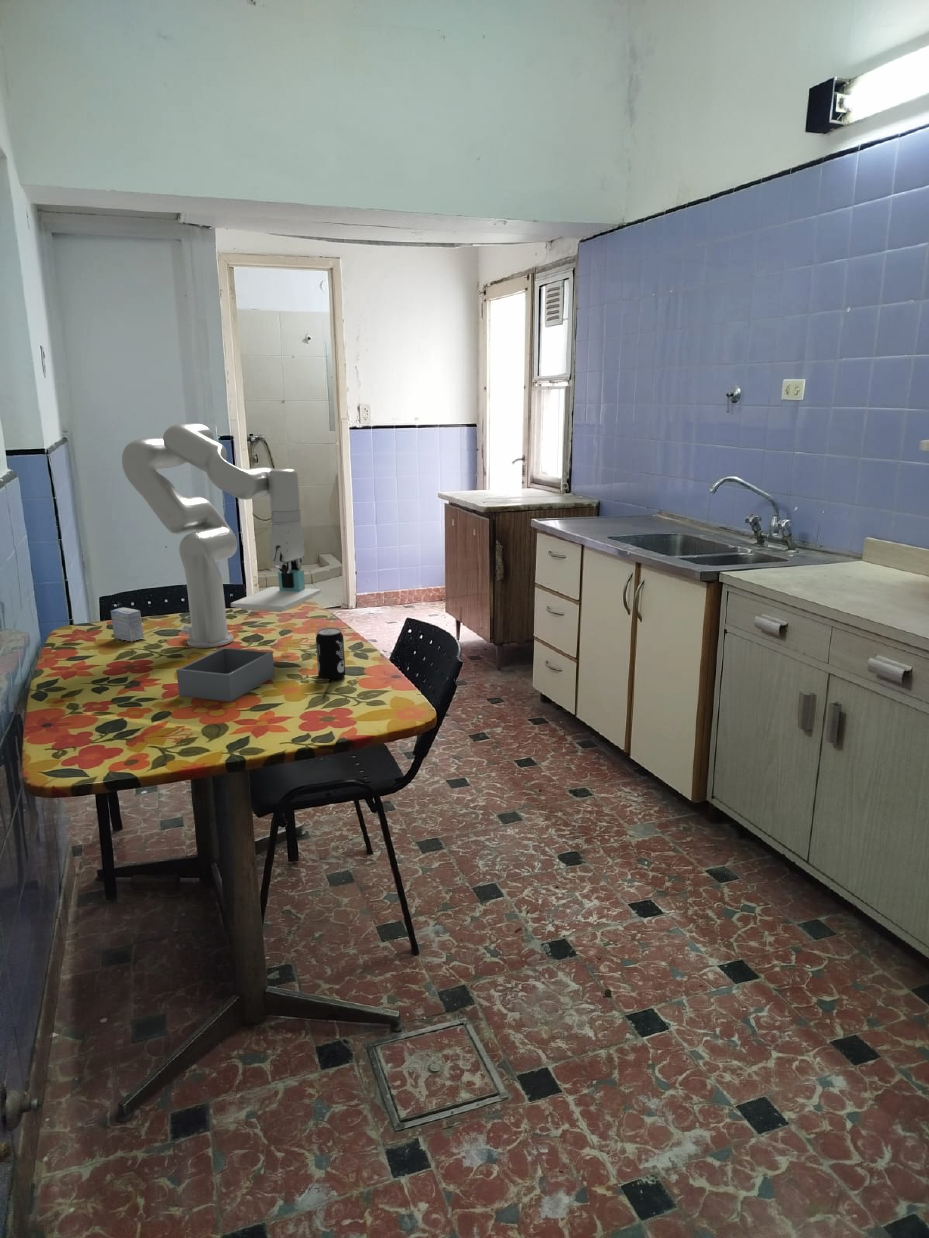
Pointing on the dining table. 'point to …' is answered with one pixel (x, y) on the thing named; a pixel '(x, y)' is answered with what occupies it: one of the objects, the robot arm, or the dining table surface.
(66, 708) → the dining table surface
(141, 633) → the white upright block
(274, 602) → the lid
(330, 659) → the beverage can
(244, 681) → the tub
